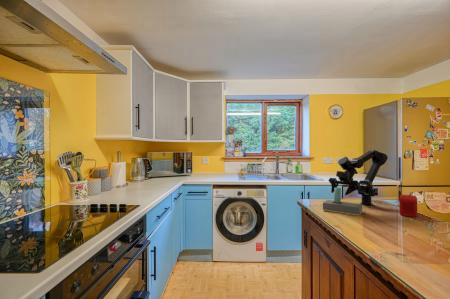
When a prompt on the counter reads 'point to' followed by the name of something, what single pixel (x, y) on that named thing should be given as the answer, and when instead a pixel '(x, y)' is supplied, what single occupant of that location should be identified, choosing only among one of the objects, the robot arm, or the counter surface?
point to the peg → (337, 195)
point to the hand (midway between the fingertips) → (338, 193)
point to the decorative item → (408, 205)
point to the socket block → (343, 207)
